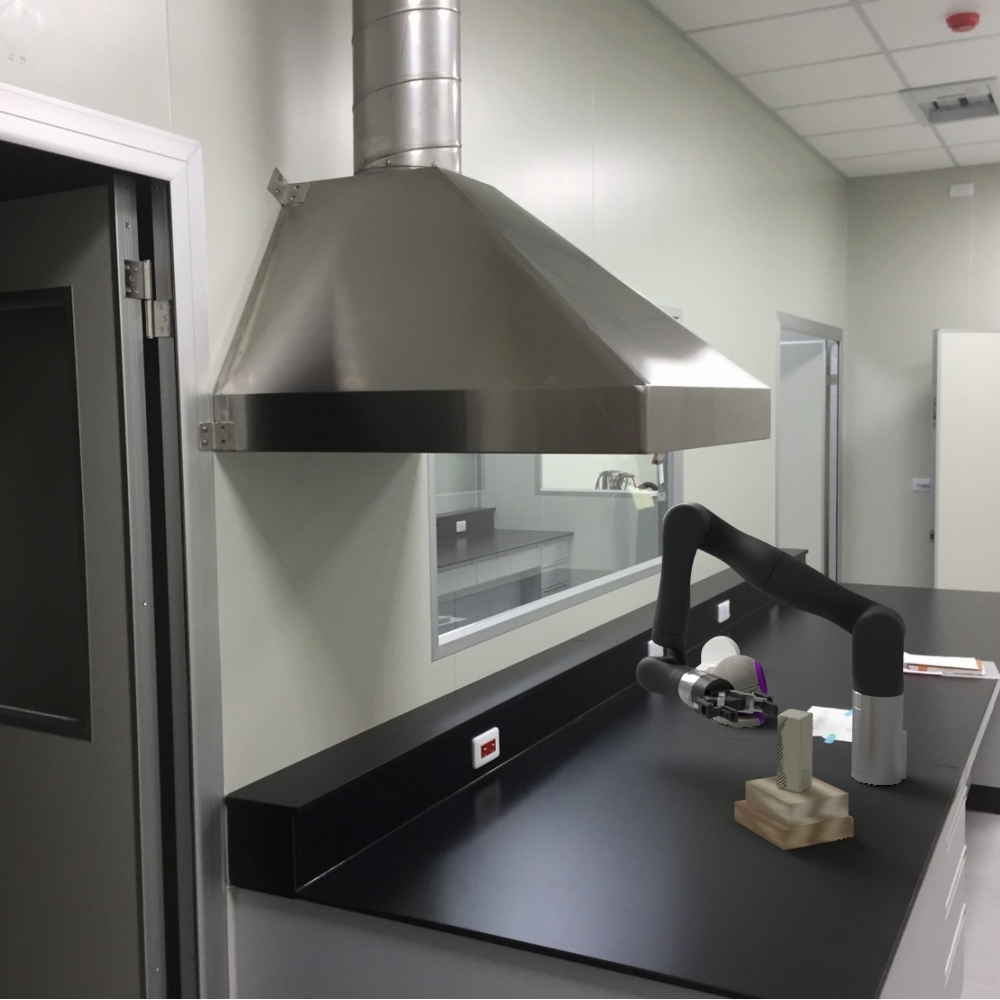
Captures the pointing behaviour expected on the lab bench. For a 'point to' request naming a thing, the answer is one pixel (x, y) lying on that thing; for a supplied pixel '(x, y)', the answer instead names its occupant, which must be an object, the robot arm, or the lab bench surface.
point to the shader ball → (743, 684)
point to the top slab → (797, 802)
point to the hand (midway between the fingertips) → (756, 714)
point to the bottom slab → (792, 836)
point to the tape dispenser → (716, 652)
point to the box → (794, 750)
